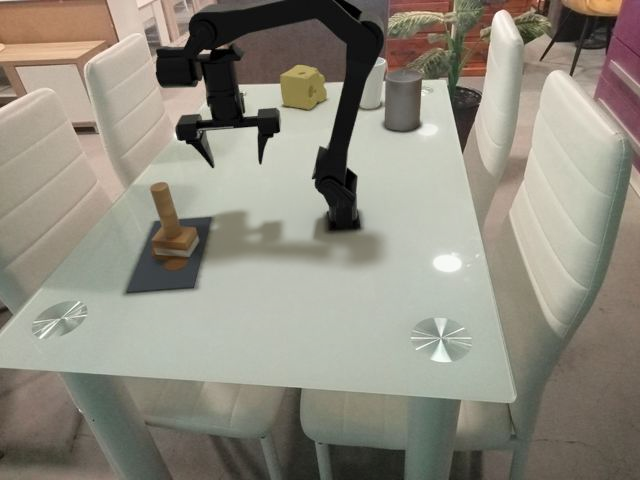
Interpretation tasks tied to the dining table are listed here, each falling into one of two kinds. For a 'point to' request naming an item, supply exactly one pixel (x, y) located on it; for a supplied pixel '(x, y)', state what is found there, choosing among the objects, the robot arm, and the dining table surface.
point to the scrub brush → (171, 226)
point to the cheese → (302, 87)
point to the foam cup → (374, 86)
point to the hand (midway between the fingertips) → (237, 165)
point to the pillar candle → (403, 99)
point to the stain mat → (169, 262)
